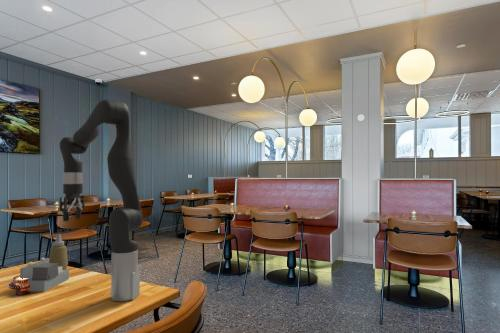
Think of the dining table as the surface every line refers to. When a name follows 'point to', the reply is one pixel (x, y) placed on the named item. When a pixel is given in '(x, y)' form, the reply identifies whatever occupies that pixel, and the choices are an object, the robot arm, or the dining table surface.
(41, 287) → the breaker box
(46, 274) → the grey square block
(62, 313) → the dining table surface
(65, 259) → the squeeze bottle
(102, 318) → the dining table surface
